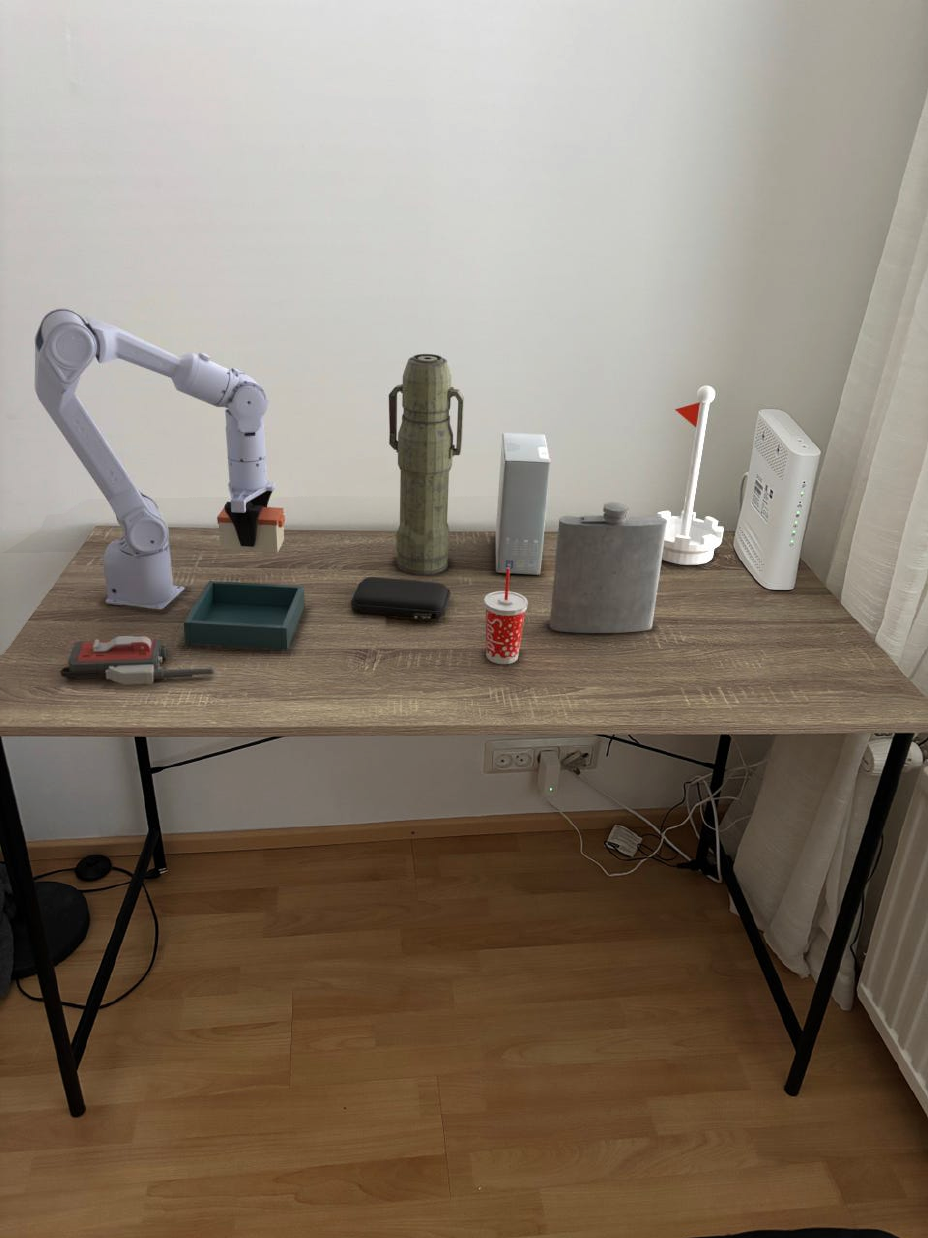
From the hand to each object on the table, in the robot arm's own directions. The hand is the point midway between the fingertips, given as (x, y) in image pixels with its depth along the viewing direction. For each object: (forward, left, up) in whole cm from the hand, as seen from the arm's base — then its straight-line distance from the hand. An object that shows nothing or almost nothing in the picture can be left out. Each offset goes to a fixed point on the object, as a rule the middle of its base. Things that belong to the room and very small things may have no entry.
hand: (252, 538), depth 162 cm
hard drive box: (+39, +23, -8) cm, 46 cm away
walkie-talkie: (-4, -30, -8) cm, 31 cm away
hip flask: (+56, +1, -8) cm, 57 cm away
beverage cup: (+43, -12, -8) cm, 45 cm away
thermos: (+24, +15, -8) cm, 29 cm away
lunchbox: (0, 0, -1) cm, 1 cm away
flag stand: (+67, +34, -8) cm, 76 cm away
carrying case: (+25, -2, -8) cm, 26 cm away
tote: (+5, -14, -8) cm, 17 cm away
